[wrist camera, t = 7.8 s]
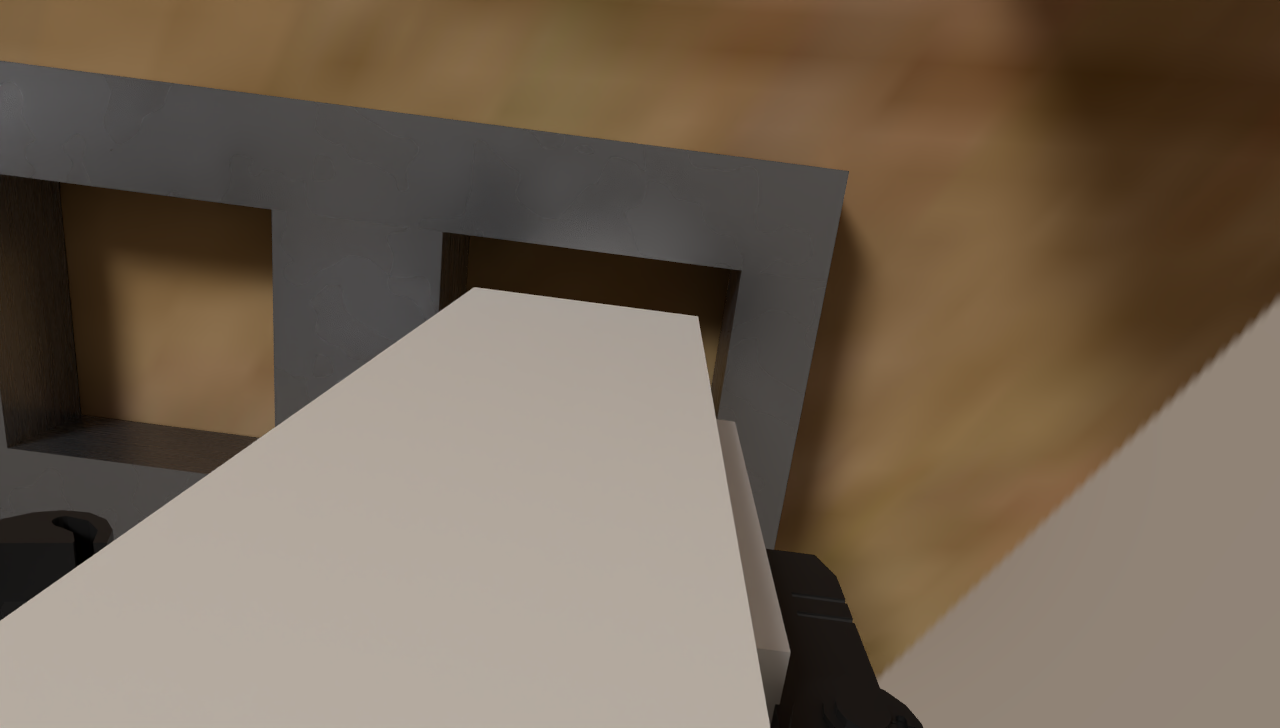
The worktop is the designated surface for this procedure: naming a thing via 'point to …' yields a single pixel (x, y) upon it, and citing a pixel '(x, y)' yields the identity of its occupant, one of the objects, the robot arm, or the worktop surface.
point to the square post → (431, 551)
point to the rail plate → (373, 257)
